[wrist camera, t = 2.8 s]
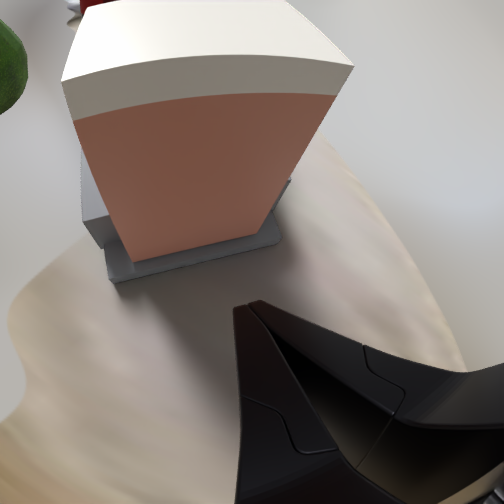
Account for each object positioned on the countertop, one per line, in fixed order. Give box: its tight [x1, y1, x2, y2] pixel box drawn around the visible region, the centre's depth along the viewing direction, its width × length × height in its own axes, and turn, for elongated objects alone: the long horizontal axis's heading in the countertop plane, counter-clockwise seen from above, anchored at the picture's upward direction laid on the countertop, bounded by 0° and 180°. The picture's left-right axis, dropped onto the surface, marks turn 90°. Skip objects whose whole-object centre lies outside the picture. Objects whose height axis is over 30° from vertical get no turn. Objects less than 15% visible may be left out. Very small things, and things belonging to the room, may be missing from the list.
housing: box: [81, 147, 292, 284], centre depth 15 cm, size 13×11×7 cm
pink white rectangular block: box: [61, 0, 354, 262], centre depth 11 cm, size 5×7×11 cm
